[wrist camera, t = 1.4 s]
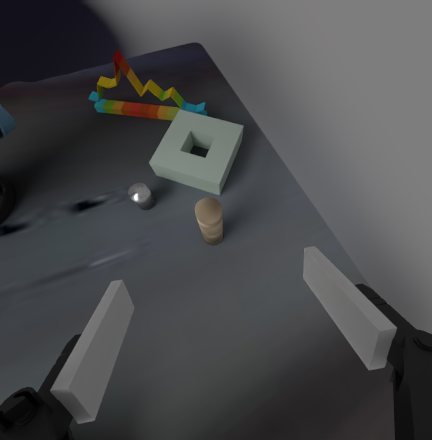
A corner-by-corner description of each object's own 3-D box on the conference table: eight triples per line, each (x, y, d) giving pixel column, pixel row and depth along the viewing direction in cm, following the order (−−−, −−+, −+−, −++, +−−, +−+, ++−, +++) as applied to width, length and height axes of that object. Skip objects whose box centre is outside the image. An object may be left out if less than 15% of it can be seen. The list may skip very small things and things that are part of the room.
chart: (207, 115, 55) (201, 54, 41) (205, 125, 54) (198, 64, 40) (102, 104, 58) (63, 42, 44) (98, 112, 57) (56, 52, 43)
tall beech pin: (201, 241, 43) (190, 217, 30) (207, 224, 44) (200, 194, 31) (219, 247, 42) (216, 226, 29) (225, 230, 43) (225, 202, 30)
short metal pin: (134, 206, 46) (124, 196, 41) (143, 191, 47) (134, 180, 43) (150, 212, 45) (142, 202, 41) (158, 197, 47) (151, 186, 42)
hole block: (156, 175, 49) (149, 162, 44) (183, 125, 54) (179, 109, 49) (219, 195, 46) (219, 184, 41) (241, 141, 51) (243, 125, 46)
